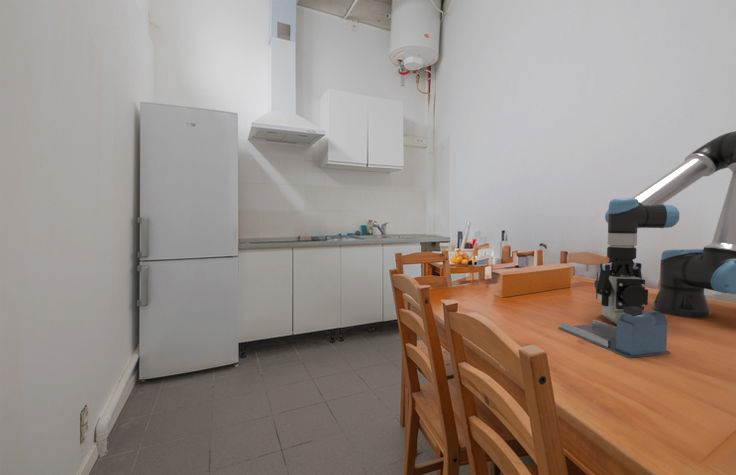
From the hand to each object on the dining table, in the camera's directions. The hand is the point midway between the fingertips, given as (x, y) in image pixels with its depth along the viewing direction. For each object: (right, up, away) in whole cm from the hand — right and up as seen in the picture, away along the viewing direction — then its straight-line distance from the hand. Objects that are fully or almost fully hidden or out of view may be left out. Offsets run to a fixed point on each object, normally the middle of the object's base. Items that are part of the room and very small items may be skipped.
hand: (619, 314), depth 108 cm
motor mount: (-13, -4, -13) cm, 19 cm away
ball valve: (0, -3, 0) cm, 3 cm away
